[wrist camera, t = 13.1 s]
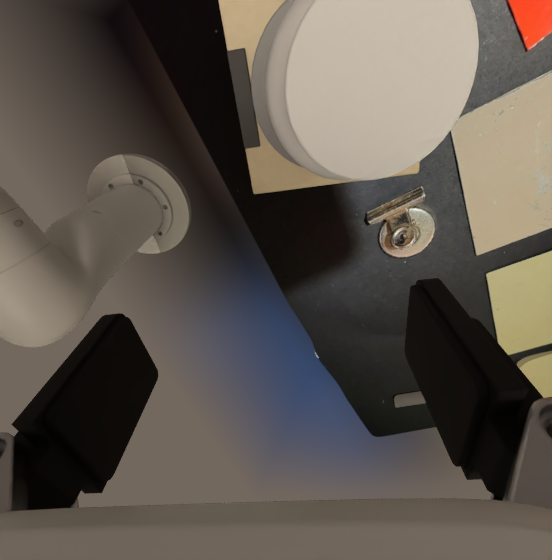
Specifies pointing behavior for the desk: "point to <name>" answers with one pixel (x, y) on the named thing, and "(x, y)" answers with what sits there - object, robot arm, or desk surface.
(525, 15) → the desk surface
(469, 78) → the pill bottle
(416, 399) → the gray half cylinder
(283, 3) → the scale
